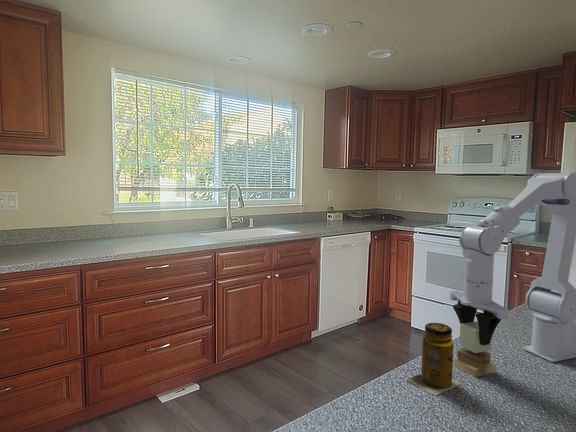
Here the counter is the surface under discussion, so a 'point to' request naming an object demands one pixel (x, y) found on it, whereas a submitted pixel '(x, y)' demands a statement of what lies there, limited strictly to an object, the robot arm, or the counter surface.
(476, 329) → the sage block
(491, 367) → the oak slab
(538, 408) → the counter surface
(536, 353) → the robot arm
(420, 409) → the counter surface
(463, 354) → the walnut slab
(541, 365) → the counter surface
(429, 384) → the condiment
